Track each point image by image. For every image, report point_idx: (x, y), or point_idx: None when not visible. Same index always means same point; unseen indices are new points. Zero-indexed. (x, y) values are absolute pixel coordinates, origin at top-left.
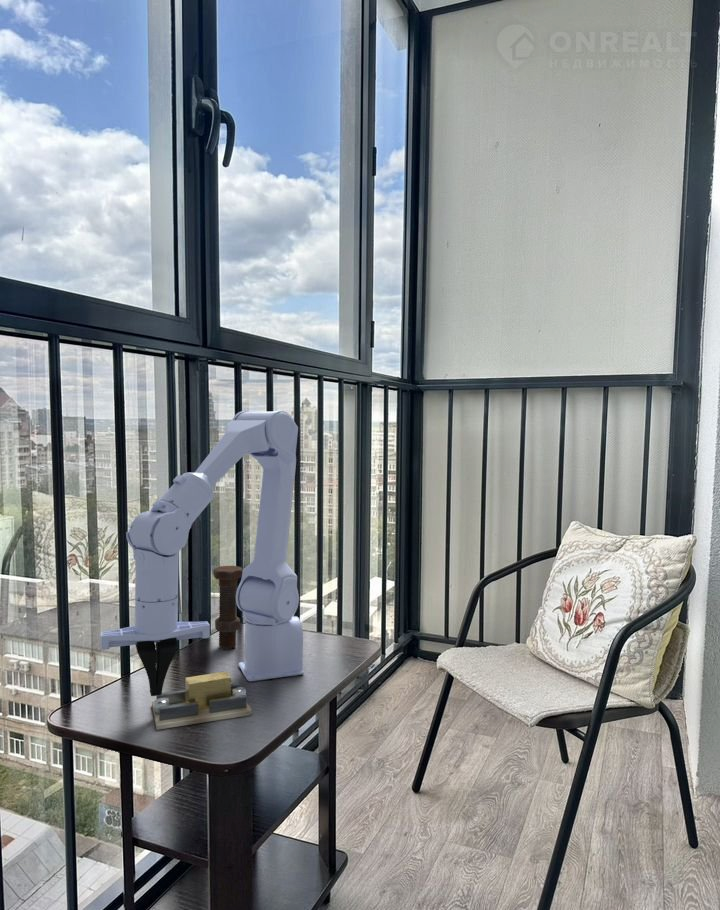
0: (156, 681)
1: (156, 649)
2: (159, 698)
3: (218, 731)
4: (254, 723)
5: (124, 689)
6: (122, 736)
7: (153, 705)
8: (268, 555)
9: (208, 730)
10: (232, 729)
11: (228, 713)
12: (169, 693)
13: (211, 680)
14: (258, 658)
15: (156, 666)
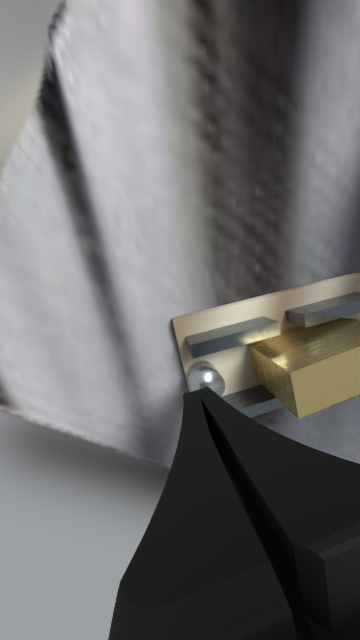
0: (213, 435)
1: (265, 521)
2: (201, 375)
3: (296, 427)
4: (351, 403)
5: (71, 194)
6: (139, 444)
7: (179, 340)
8: None
9: (281, 424)
10: (317, 421)
11: None
12: (223, 346)
13: (355, 395)
14: None
15: (224, 439)
